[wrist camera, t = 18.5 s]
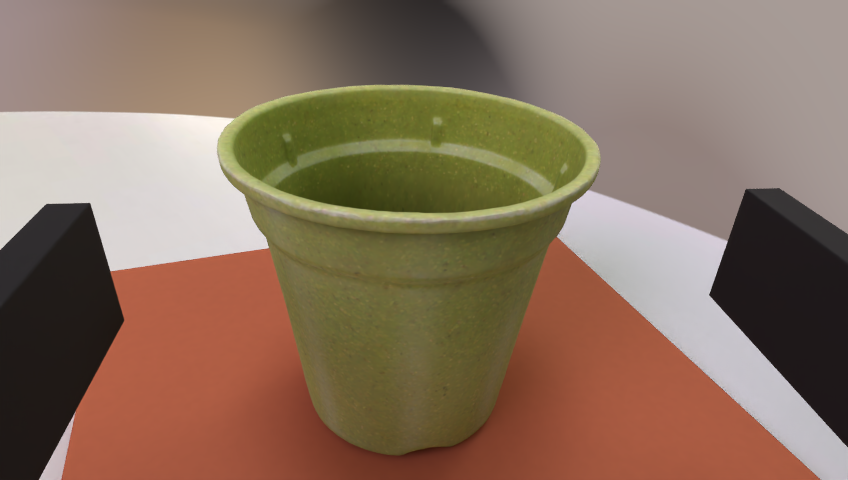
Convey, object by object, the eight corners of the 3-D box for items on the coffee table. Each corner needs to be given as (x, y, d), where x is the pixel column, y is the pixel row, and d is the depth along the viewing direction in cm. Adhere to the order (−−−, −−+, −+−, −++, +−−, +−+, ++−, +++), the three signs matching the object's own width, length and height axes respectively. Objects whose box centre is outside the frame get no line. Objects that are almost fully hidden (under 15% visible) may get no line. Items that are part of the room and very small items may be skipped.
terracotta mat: (526, 219, 30) (527, 209, 30) (913, 586, 14) (923, 572, 14) (108, 283, 24) (104, 271, 24) (-43, 1048, 8) (-60, 1041, 8)
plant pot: (366, 274, 24) (361, 67, 20) (584, 350, 21) (637, 116, 16) (192, 420, 17) (125, 150, 13) (477, 579, 14) (519, 271, 9)
